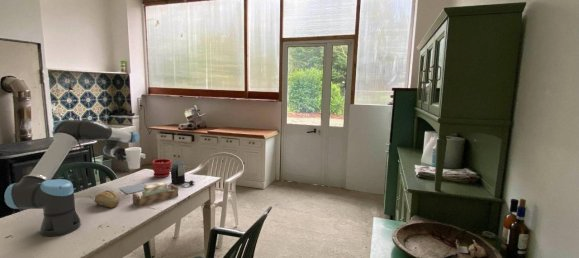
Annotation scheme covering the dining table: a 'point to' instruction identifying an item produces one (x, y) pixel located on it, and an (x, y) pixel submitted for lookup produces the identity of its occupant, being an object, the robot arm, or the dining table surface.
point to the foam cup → (133, 157)
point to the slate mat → (133, 188)
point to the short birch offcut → (155, 187)
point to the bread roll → (107, 199)
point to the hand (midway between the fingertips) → (137, 157)
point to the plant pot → (161, 167)
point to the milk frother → (178, 173)
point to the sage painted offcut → (155, 192)
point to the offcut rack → (155, 197)
